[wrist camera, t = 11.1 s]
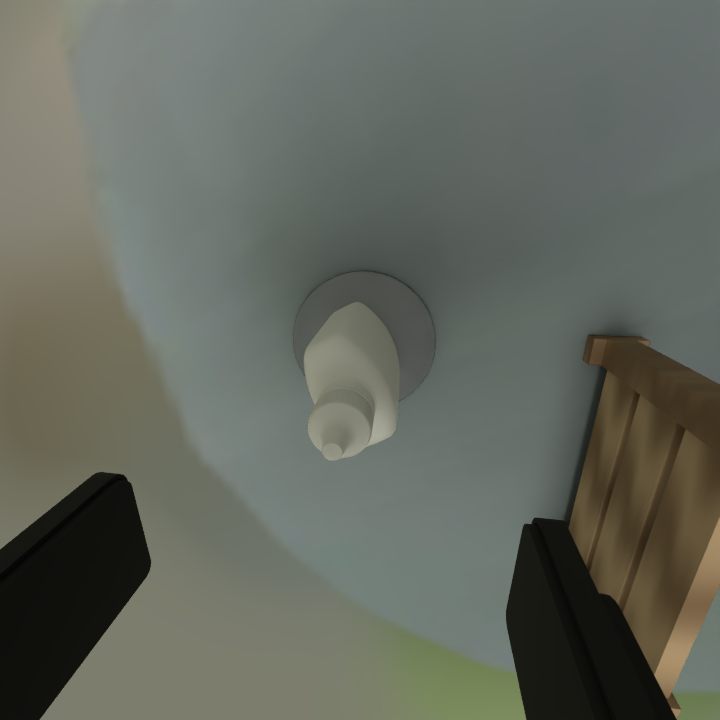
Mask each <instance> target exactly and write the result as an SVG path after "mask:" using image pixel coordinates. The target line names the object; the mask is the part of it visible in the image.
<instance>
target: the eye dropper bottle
mask: <svg viewBox="0 0 720 720" xmlns="http://www.w3.org/2000/svg"><path fill="white" fill-rule="evenodd" d="M304 370H305V376H306V381H307V385H308V389H309V392H310V395H311V397H312V400H313V402H314V404H315V406H314V408H313V411H312V413H311V415H310V417H309V419H308V420H309V421H308V425H307V426H308V428H307V429H308V433H309V436H310V438H311V441H312V443H313V444H314V445H315V446H316V448H318V449H319V450H320V451H321V452H322V454H323V456H324V457H325V458H326V459H328V460H330V461H336V460H339V459H340V458H347V457H351V456H354V455H356V454H358V453H360V452H361V451H363V449H365V447H367V446H370V445H373V444H376V443H378V442H381V441H383V440H385V439H387V438H389V437H390V436H391V435H392V434H393V433H394V432H395V429H396V426H397V420H398V403H399V378H400V367H399V359H398V354H397V350H396V347H395V344H394V341H393V339H392V337H391V335H390V333H389V331H388V329H387V328H386V326H385V325H384V324H383V322H382V321H381V320H380V318H379V317H378V316H377V315H376V314H375V313H374V312H373V311H372V310H371V309H370V308H368V307H367V306H366V305H364V304H363V303H360V302H353V303H351V304H349V305H347V306H345V307H343V308H341V309H339V310H337V311H336V312H334V313H333V314H332V315H331V316H330V317H329V319H328V320H327V321H326V322H325V324H324V325H323V326H322V327H321V329H320V330H319V331H318V333H317V334H316V335H315V337H314V338H313V339H312V341H311V342H310V343H309V345H308V346H307V348H306V350H305V354H304Z"/></svg>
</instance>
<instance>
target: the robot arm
mask: <svg viewBox="0 0 720 720" xmlns="http://www.w3.org/2000/svg"><path fill="white" fill-rule="evenodd" d="M150 567H151V559H150V555H149V551H148V547H147V543H146V539H145V535H144V531H143V527H142V524H141V520H140V516H139V512H138V508H137V504H136V500H135V496H134V492H133V488H132V485H131V483H130V482H128V481H127V478H126V477H125V476H124V475H121V474H113V473H104V472H99V473H96V474H94V475H92V476H91V477H90V478H89V479H87V480H86V481H85V482H84V483H82V484H81V485H80V486H79V487H78V488H76V489H75V490H74V491H73V492H71V493H70V494H69V495H68V496H66V497H65V498H64V499H62V500H61V501H60V502H59V503H58V504H56V505H55V506H54V507H53V508H51V509H50V510H49V511H48V512H46V513H45V514H44V515H43V516H41V517H40V518H39V519H38V520H37V521H35V522H34V523H33V524H31V525H30V526H29V527H28V528H26V529H25V530H24V531H23V532H21V533H20V534H19V535H18V536H17V537H15V538H14V539H13V540H12V541H10V542H9V543H8V544H6V545H5V546H4V547H3V548H2V549H0V720H40V718H41V717H42V716H43V714H44V713H45V712H46V710H47V709H48V708H49V706H50V705H51V704H52V702H53V701H54V700H55V698H56V697H57V696H58V694H59V693H60V692H61V690H62V689H63V688H64V686H65V685H66V684H67V682H68V681H69V680H70V678H71V677H72V676H73V674H74V673H75V672H76V670H77V669H78V668H79V666H80V665H81V664H82V662H83V661H84V660H85V658H86V657H87V656H88V654H89V653H90V651H91V650H92V649H93V648H94V646H95V645H96V644H97V642H98V641H99V640H100V638H101V637H102V636H103V634H104V633H105V632H106V630H107V629H108V628H109V626H110V625H111V624H112V622H113V621H114V620H115V618H116V617H117V615H118V614H119V613H120V612H121V610H122V609H123V607H124V606H125V605H126V603H127V602H128V601H129V599H130V598H131V597H132V595H133V594H134V593H135V591H136V590H137V589H138V587H139V586H140V585H141V584H142V582H143V581H144V580H145V578H146V577H147V575H148V573H149V571H150ZM506 623H507V630H508V634H509V639H510V644H511V649H512V653H513V658H514V663H515V668H516V672H517V677H518V682H519V687H520V691H521V696H522V701H523V705H524V710H525V714H526V719H527V720H677V719H676V717H675V715H674V713H673V711H672V709H671V707H670V705H669V703H668V701H667V699H666V697H665V695H664V693H663V691H662V689H661V687H660V685H659V683H658V681H657V679H656V678H655V676H654V674H653V672H652V670H651V668H650V666H649V664H648V662H647V660H646V658H645V656H644V654H643V652H642V650H641V648H640V646H639V644H638V642H637V640H636V638H635V636H634V634H633V632H632V630H631V628H630V626H629V624H628V622H627V620H626V618H625V616H624V614H623V613H622V611H621V609H620V607H619V605H618V604H617V602H616V601H615V600H614V599H613V598H612V597H611V596H610V595H607V594H602V593H599V592H598V590H597V588H596V586H595V584H594V582H593V580H592V578H591V575H590V573H589V571H588V569H587V567H586V565H585V563H584V561H583V558H582V556H581V554H580V552H579V550H578V548H577V546H576V544H575V542H574V539H573V537H572V535H571V533H570V531H569V529H568V527H567V525H566V523H565V522H564V521H563V520H554V519H544V518H534V519H533V521H532V524H524V526H523V530H522V535H521V539H520V544H519V549H518V554H517V559H516V564H515V569H514V574H513V579H512V584H511V589H510V594H509V599H508V604H507V609H506Z"/></svg>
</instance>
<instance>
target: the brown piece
mask: <svg viewBox="0 0 720 720" xmlns="http://www.w3.org/2000/svg"><path fill="white" fill-rule="evenodd" d="M649 343H650V341H649V340H647V339H645V338H643V337H624V336H596V335H588V340H587V344H586V349H585V353H584V358H583V361H584V362H586V363H587V364H588V365H601V366H603V367H604V368H605V369H607V374H606V378H605V382H604V386H603V390H602V394H601V398H600V402H599V406H598V410H597V414H596V419H595V423H594V427H593V431H592V435H591V439H590V443H589V447H588V451H587V455H586V459H585V463H584V467H583V471H582V475H581V479H580V483H579V487H578V491H577V495H576V500H575V504H574V508H573V512H572V516H571V520H570V524H569V527H568V529H569V531H570V533H571V535H572V537H573V539H574V542H575V544H576V546H577V548H578V550H579V552H580V554H581V556H582V558H583V561H584V563H585V565H586V567H587V569H588V571H589V573H590V575H591V578H592V580H593V582H594V584H595V586H596V588H597V590H598V592H599V593H602V594H607V595H610V596H611V597H612V598H613V599H614V600H615V601H616V602H617V604H618V605H619V607H620V609H621V611H622V613H623V614H624V616H625V618H626V620H627V622H628V624H629V626H630V628H631V630H632V632H633V634H634V636H635V638H636V640H637V642H638V644H639V646H640V648H641V650H642V652H643V654H644V656H645V658H646V660H647V662H648V664H649V666H650V668H651V670H652V672H653V674H654V676H655V678H656V679H657V681H658V683H659V685H660V687H661V689H662V691H663V693H664V695H665V697H666V699H667V701H668V703H669V705H670V707H671V709H672V711H673V713H674V715H675V717H676V719H677V718H678V716H679V714H680V712H681V708H680V706H679V705H678V703H677V701H676V699H675V698H674V696H673V694H672V690H673V688H674V686H675V683H676V681H677V679H678V677H679V675H680V672H681V670H682V668H683V666H684V663H685V661H686V659H687V657H688V654H689V652H690V650H691V648H692V646H693V643H694V641H695V639H696V637H697V634H698V632H699V630H700V628H701V626H702V623H703V621H704V619H705V617H706V614H707V612H708V610H709V608H710V605H711V603H712V601H713V599H714V597H715V594H716V592H717V590H718V588H719V585H720V384H718V383H716V382H714V381H712V380H710V379H708V378H707V377H705V376H703V375H701V374H699V373H697V372H695V371H693V370H691V369H690V368H688V367H686V366H684V365H682V364H680V363H678V362H676V361H674V360H673V359H671V358H669V357H667V356H665V355H663V354H661V353H659V352H657V351H656V350H654V349H652V348H650V347H649Z"/></svg>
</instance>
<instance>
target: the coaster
mask: <svg viewBox="0 0 720 720" xmlns="http://www.w3.org/2000/svg"><path fill="white" fill-rule="evenodd" d="M353 302H360V303H363V304H364V305H366V306H367V307H368V308H370V309H371V310H372V311H373V312H374V313H375V314H376V315H377V316H378V317H379V318H380V320H381V321H382V322H383V324H384V325H385V326H386V328H387V329H388V331H389V333H390V335H391V337H392V339H393V341H394V344H395V347H396V350H397V354H398V359H399V367H400V378H399V401H400V400H402V399H404V398H406V397H407V396H408V395H410V394H411V393H412V392H413V391H415V390H416V389H417V388H418V387H419V385H420V384H421V383H422V382H423V381H424V379H425V377H426V376H427V374H428V372H429V370H430V368H431V366H432V362H433V359H434V354H435V342H436V339H435V331H434V326H433V323H432V319H431V316H430V314H429V312H428V310H427V308H426V306H425V305H424V303H423V301H422V300H421V299H420V298H419V296H418V295H417V294H416V293H415V292H414V291H413V290H412V289H411V288H410V287H408V286H407V285H405V284H404V283H403V282H401V281H399V280H397V279H395V278H394V277H391V276H388V275H386V274H382V273H378V272H372V271H354V272H348V273H344V274H341V275H338V276H335V277H333V278H331V279H329V280H328V281H326V282H325V283H323V284H322V285H320V286H319V287H318V288H317V289H315V290H314V291H313V292H312V293H311V294H310V295H309V297H308V298H307V299H306V300H305V302H304V303H303V305H302V306H301V308H300V310H299V313H298V315H297V318H296V321H295V325H294V332H293V345H294V352H295V356H296V359H297V362H298V364H299V367H300V369H301V371H302V372H303V374H304V376H305V370H304V354H305V350H306V348H307V346H308V345H309V343H310V342H311V341H312V339H313V338H314V337H315V335H316V334H317V333H318V331H319V330H320V329H321V327H322V326H323V325H324V324H325V322H326V321H327V320H328V319H329V317H330V316H331V315H332V314H333V313H334V312H336V311H337V310H339V309H341V308H343V307H345V306H347V305H349V304H351V303H353ZM305 377H306V376H305Z"/></svg>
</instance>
